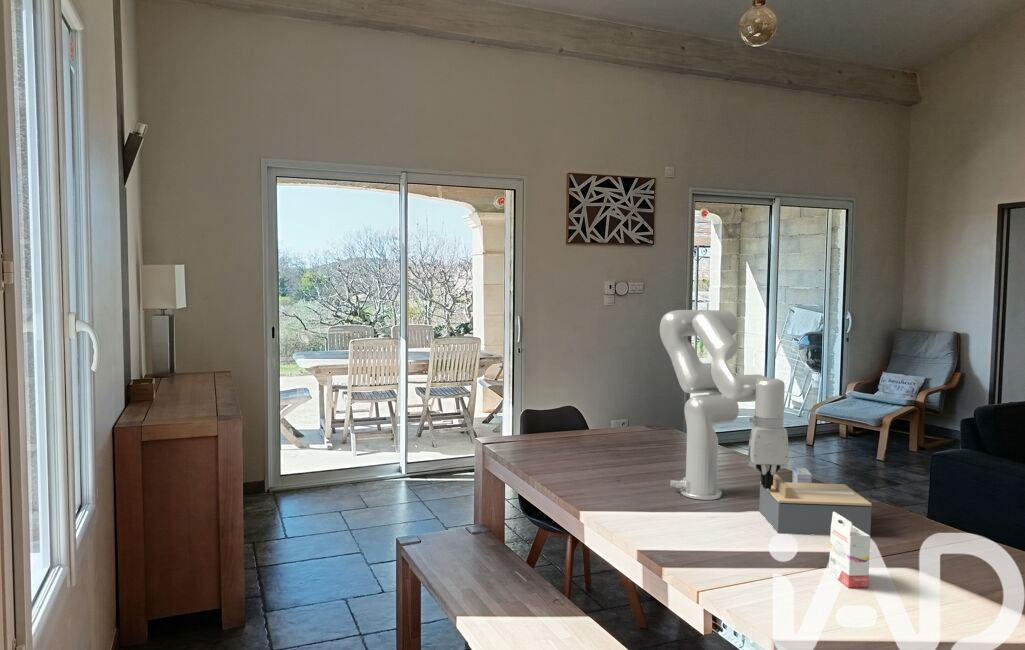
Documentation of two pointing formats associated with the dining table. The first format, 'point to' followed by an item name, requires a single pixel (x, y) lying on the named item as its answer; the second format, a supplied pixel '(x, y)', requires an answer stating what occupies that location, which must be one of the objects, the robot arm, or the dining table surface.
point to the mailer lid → (814, 493)
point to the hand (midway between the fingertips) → (766, 487)
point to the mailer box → (810, 515)
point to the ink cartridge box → (849, 553)
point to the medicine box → (801, 476)
